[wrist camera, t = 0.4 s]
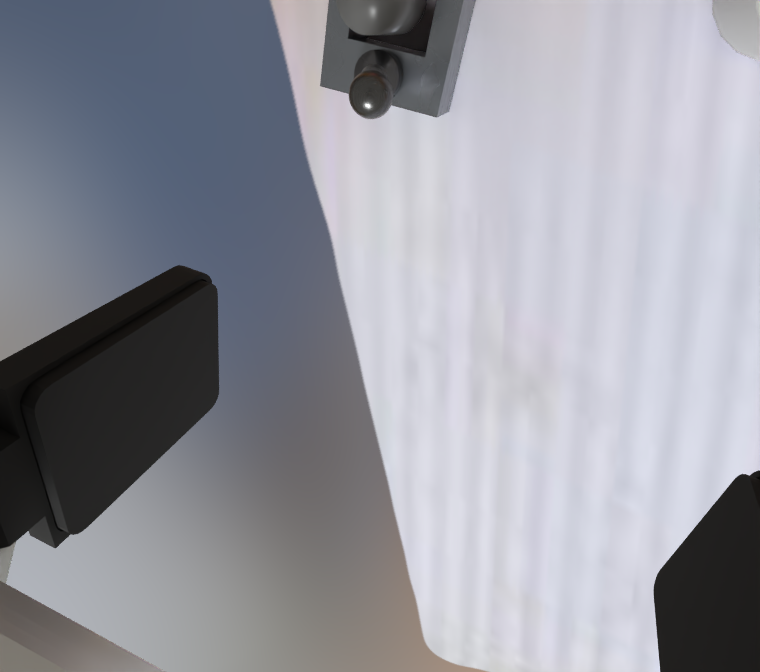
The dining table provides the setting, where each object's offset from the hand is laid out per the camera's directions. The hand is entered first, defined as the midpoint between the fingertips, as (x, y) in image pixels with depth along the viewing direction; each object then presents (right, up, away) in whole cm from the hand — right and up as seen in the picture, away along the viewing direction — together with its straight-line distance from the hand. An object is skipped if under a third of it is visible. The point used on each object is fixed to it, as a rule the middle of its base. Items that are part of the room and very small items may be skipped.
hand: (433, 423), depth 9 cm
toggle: (-1, +17, +21) cm, 27 cm away
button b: (0, +21, +20) cm, 29 cm away
